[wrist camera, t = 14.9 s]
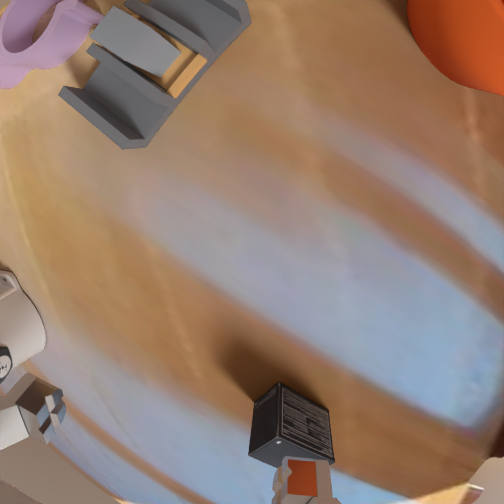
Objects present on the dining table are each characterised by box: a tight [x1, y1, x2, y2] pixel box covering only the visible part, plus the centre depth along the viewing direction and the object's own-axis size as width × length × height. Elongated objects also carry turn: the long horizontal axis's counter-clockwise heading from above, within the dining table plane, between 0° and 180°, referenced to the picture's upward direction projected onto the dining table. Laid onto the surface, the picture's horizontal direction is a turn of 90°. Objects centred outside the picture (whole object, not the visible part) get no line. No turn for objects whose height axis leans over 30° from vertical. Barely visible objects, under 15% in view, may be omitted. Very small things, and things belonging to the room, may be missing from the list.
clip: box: [0, 0, 105, 89], centre depth 27 cm, size 20×12×7 cm, turn 109°
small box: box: [248, 383, 335, 468], centre depth 41 cm, size 11×6×10 cm, turn 52°
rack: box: [58, 0, 252, 149], centre depth 28 cm, size 19×11×6 cm, turn 140°
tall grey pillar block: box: [89, 6, 181, 78], centre depth 25 cm, size 4×5×9 cm
